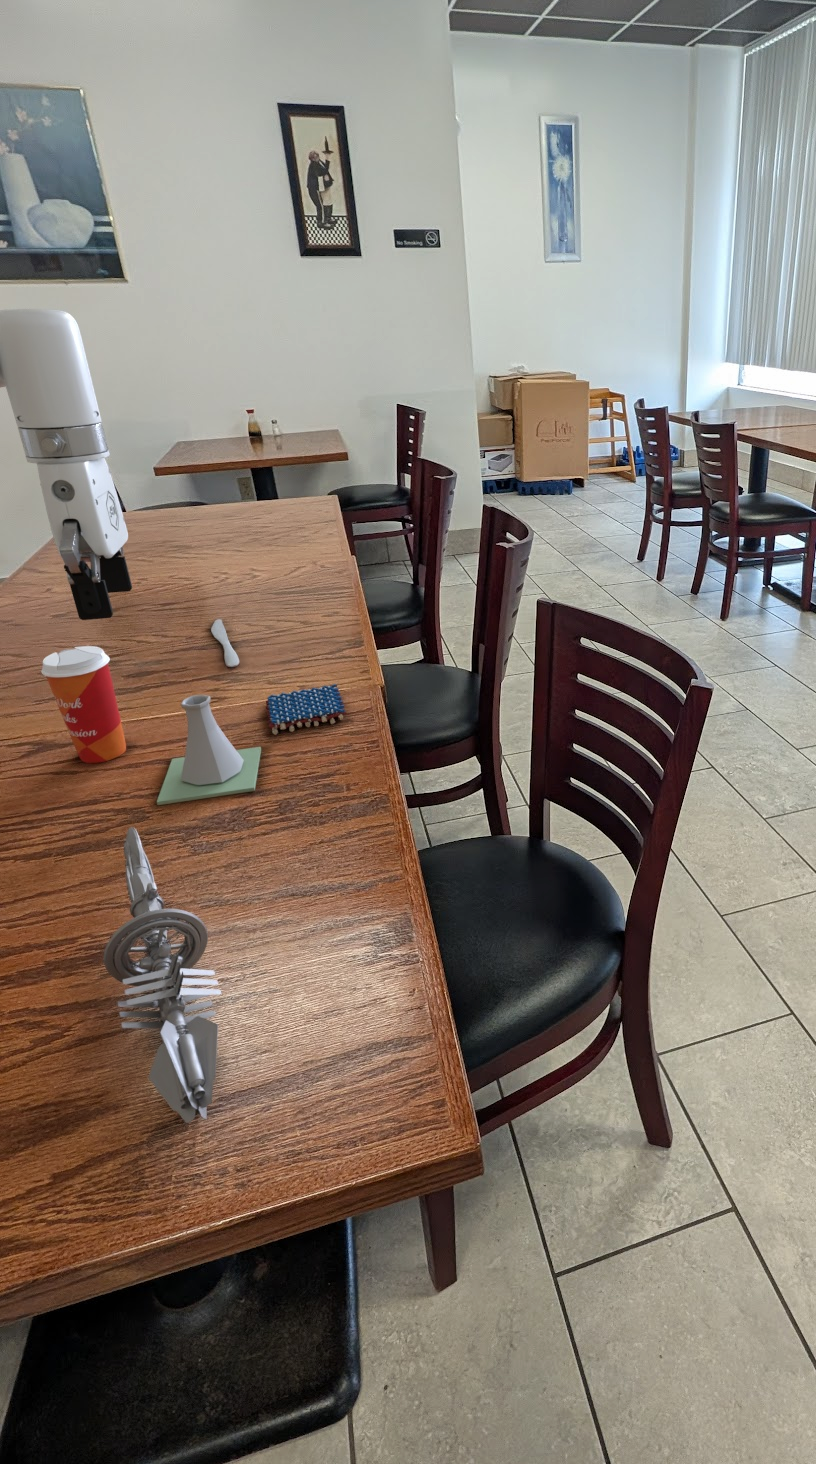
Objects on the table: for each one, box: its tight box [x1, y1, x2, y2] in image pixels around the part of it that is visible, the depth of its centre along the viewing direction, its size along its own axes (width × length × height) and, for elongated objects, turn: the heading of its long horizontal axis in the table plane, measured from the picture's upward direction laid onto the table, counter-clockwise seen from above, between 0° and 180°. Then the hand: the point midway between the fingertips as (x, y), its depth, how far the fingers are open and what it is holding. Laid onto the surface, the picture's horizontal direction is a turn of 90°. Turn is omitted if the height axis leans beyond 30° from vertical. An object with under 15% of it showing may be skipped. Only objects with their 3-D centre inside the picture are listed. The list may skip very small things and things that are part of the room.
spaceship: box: [103, 826, 222, 1124], centre depth 69 cm, size 8×35×8 cm
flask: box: [180, 694, 244, 785], centre depth 100 cm, size 7×7×10 cm
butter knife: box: [210, 618, 240, 668], centre depth 145 cm, size 1×27×3 cm
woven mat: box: [265, 683, 347, 736], centre depth 118 cm, size 10×11×2 cm
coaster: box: [156, 746, 262, 806], centre depth 103 cm, size 11×11×1 cm
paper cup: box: [40, 645, 127, 764], centre depth 106 cm, size 8×8×14 cm
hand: (107, 604), depth 91 cm, fingers open, 9 cm apart
